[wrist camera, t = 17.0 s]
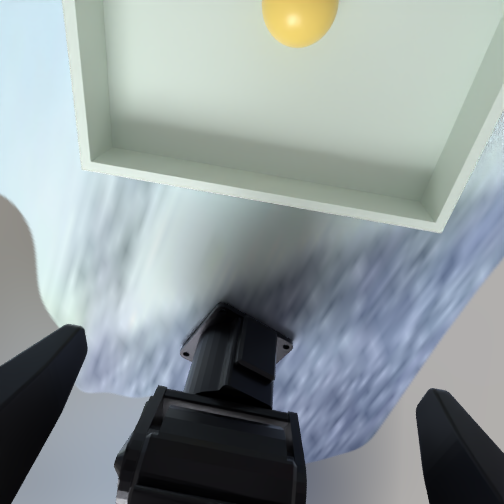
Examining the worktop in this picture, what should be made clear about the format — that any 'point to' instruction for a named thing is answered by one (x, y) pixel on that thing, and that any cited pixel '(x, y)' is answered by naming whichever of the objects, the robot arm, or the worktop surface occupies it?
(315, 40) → the ball
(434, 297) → the worktop surface
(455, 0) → the tray
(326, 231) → the worktop surface
